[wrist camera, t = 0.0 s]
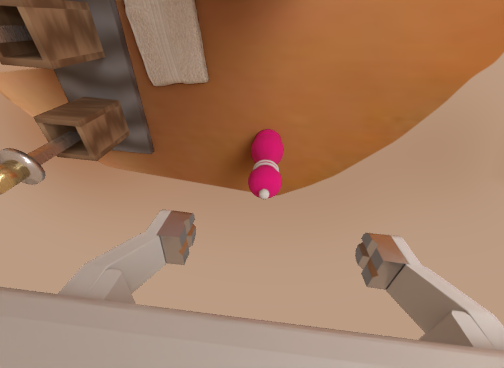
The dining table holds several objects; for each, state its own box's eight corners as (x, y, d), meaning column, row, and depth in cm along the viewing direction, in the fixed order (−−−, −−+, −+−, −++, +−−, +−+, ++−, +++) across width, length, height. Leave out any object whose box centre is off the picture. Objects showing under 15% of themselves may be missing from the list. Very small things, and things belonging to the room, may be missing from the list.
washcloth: (189, -46, 32) (182, -51, 30) (212, 81, 43) (208, 85, 41) (118, -36, 33) (106, -41, 31) (157, 84, 44) (151, 88, 42)
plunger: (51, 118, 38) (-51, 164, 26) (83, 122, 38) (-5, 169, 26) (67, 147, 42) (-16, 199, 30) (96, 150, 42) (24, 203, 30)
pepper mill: (256, 156, 53) (247, 215, 37) (249, 130, 48) (236, 183, 33) (285, 152, 51) (288, 210, 35) (280, 124, 47) (282, 177, 31)
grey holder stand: (8, -45, 34) (-114, -73, 23) (105, -37, 33) (25, -63, 23) (94, 144, 55) (51, 175, 44) (154, 151, 54) (124, 183, 44)
